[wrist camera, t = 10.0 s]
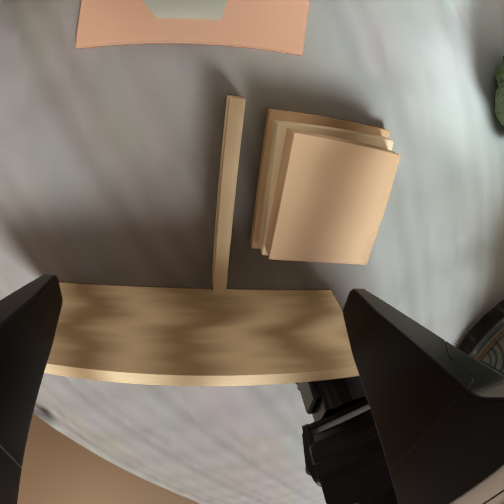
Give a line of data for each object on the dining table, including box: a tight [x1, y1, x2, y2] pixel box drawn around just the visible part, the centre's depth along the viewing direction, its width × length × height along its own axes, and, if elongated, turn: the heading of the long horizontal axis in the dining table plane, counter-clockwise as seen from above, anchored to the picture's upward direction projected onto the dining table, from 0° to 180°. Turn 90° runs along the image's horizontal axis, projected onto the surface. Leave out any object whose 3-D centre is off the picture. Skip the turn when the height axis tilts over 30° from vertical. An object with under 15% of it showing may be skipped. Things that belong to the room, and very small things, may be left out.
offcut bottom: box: [250, 108, 390, 249], centre depth 21 cm, size 8×9×2 cm
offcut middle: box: [259, 120, 394, 255], centre depth 19 cm, size 7×8×2 cm
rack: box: [44, 95, 359, 386], centre depth 17 cm, size 22×14×8 cm, turn 83°
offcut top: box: [265, 128, 401, 265], centre depth 18 cm, size 6×7×2 cm
